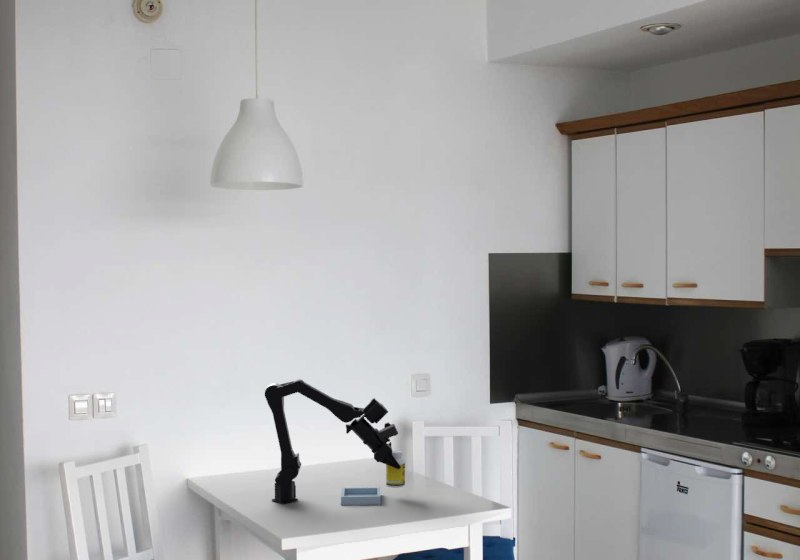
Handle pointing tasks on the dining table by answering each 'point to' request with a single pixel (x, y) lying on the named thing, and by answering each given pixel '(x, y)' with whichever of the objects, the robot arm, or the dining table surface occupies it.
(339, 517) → the dining table surface
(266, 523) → the dining table surface
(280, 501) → the robot arm
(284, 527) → the dining table surface
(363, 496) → the dish
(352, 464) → the dining table surface
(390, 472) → the pill bottle
